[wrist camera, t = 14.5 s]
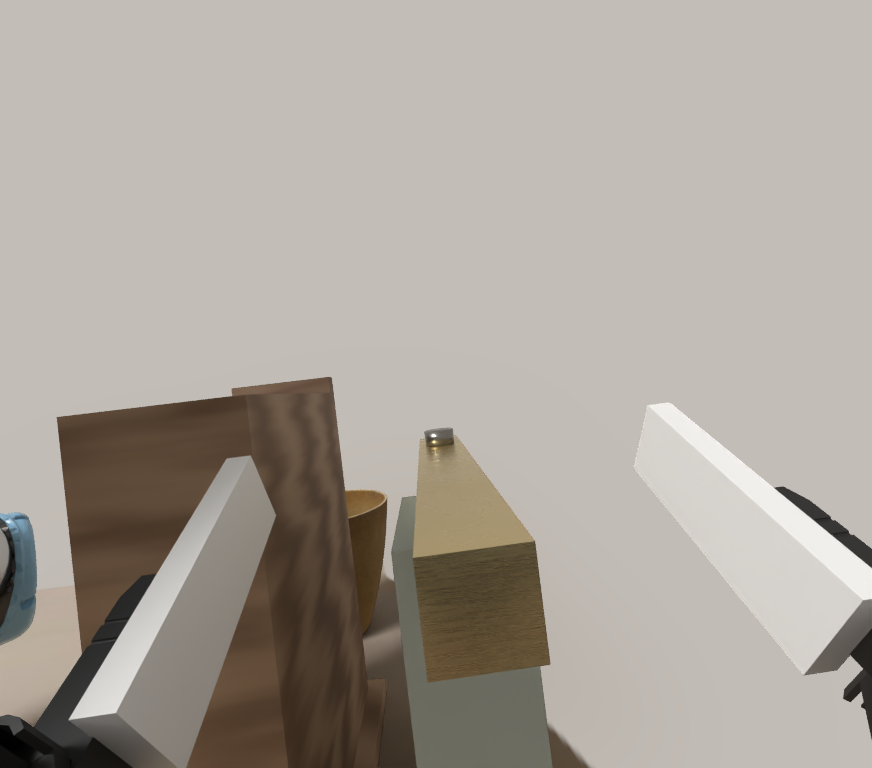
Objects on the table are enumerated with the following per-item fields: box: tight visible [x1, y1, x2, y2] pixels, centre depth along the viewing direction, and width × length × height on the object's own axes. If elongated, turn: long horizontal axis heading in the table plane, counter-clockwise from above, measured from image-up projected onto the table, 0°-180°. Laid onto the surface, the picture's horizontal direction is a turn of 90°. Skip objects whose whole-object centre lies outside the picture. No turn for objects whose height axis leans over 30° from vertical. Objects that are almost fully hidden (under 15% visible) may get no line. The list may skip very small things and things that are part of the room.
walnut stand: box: [57, 377, 387, 768], centre depth 27 cm, size 20×12×32 cm, turn 2°
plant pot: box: [345, 490, 387, 634], centre depth 49 cm, size 15×15×16 cm
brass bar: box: [413, 428, 550, 683], centre depth 24 cm, size 26×4×5 cm, turn 2°
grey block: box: [391, 496, 553, 768], centre depth 24 cm, size 10×7×21 cm
